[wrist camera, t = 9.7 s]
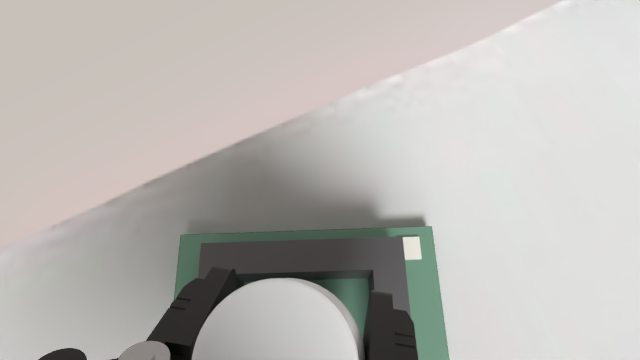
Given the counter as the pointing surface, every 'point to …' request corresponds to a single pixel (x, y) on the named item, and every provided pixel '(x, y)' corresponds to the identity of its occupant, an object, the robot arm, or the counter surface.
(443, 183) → the counter surface
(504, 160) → the counter surface
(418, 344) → the socket board
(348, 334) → the pill bottle
